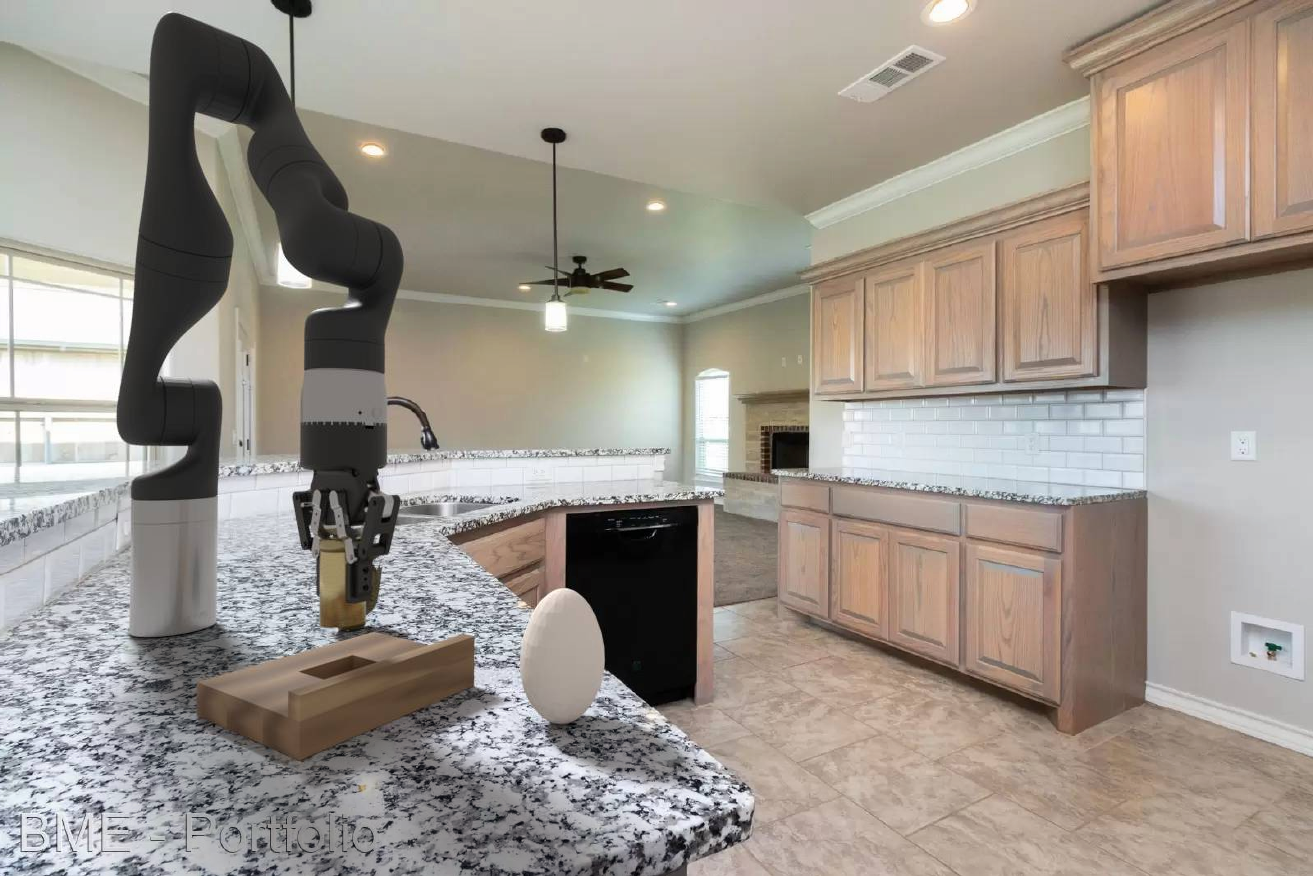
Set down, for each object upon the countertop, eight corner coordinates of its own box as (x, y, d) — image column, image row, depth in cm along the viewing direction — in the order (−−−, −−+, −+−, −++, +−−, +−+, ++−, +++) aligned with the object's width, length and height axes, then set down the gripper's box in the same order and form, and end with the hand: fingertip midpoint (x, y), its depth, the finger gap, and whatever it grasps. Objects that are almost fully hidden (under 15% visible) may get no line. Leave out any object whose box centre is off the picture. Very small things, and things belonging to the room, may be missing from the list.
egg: (557, 749, 52) (558, 603, 52) (502, 723, 56) (503, 589, 57) (621, 719, 57) (622, 587, 57) (566, 698, 62) (566, 576, 62)
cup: (357, 638, 81) (357, 575, 81) (306, 635, 82) (307, 572, 82) (393, 622, 88) (393, 564, 88) (345, 619, 89) (346, 562, 90)
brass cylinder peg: (309, 624, 61) (310, 539, 61) (349, 614, 64) (350, 534, 64) (335, 630, 59) (336, 542, 59) (375, 620, 62) (376, 537, 62)
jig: (196, 715, 58) (197, 659, 58) (373, 658, 73) (374, 614, 73) (299, 760, 50) (299, 695, 50) (474, 685, 65) (474, 636, 65)
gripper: (263, 420, 62) (262, 598, 62) (355, 416, 55) (353, 618, 55) (336, 422, 69) (335, 584, 68) (427, 419, 61) (426, 600, 61)
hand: (343, 598), depth 61 cm, fingers closed on brass cylinder peg, 4 cm apart
